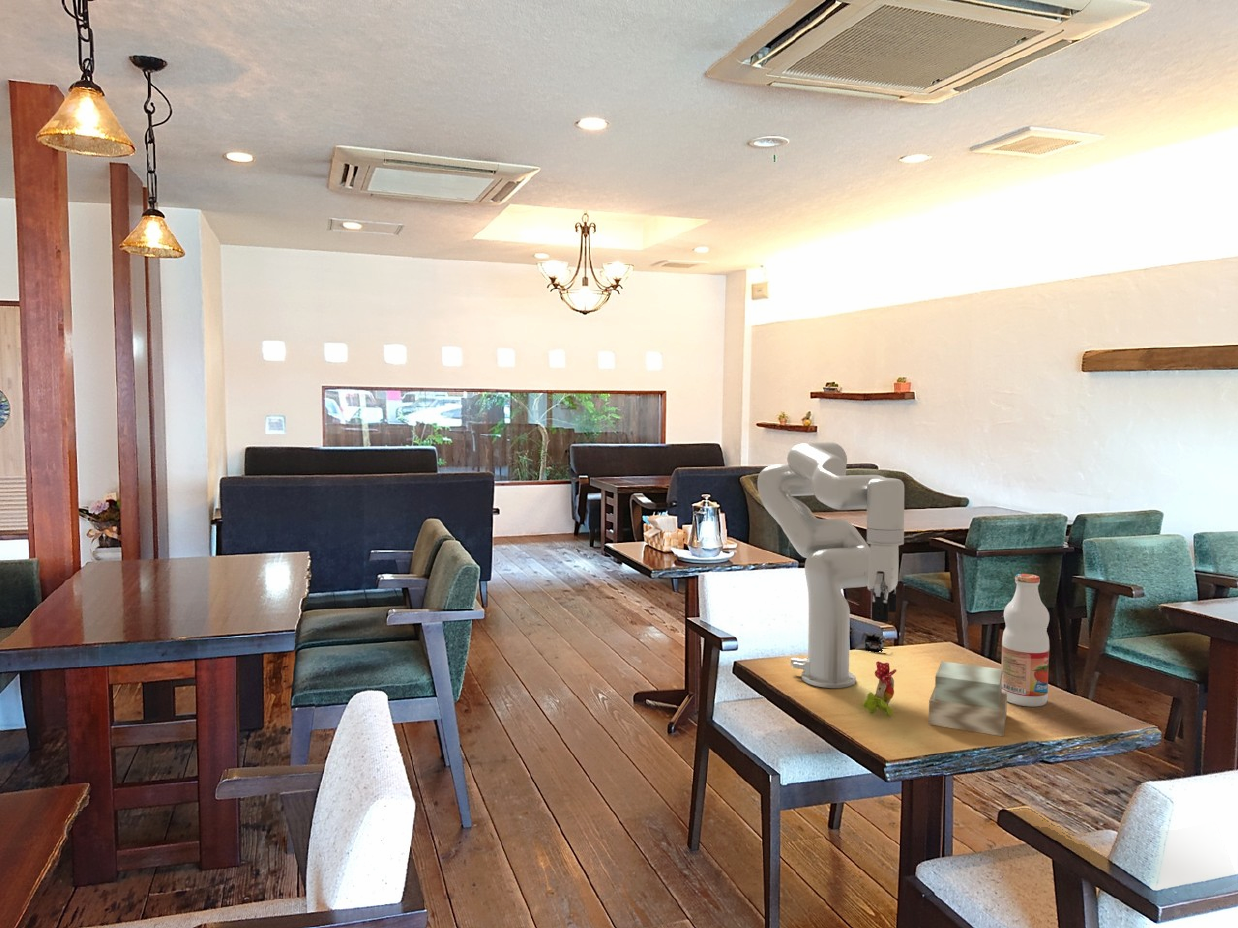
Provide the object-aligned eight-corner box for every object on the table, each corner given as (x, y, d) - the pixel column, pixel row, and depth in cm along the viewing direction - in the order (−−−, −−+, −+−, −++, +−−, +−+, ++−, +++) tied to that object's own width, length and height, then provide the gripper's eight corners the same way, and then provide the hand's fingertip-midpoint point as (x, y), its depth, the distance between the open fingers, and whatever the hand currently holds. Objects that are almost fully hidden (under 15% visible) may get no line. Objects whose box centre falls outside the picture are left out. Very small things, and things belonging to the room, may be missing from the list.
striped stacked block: (928, 724, 173) (929, 676, 172) (936, 704, 184) (937, 659, 184) (1003, 736, 166) (1004, 686, 166) (1006, 714, 178) (1007, 668, 177)
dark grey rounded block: (847, 650, 226) (847, 634, 226) (856, 644, 233) (856, 628, 232) (894, 658, 220) (894, 641, 219) (901, 651, 226) (901, 634, 225)
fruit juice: (1000, 690, 193) (1004, 570, 191) (1046, 696, 189) (1050, 573, 187) (1000, 703, 184) (1003, 578, 183) (1048, 710, 181) (1052, 581, 179)
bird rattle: (869, 714, 184) (858, 709, 177) (876, 663, 187) (865, 657, 180) (898, 720, 181) (888, 715, 174) (905, 668, 184) (895, 662, 177)
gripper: (874, 530, 187) (873, 606, 188) (858, 540, 172) (858, 623, 173) (909, 532, 184) (908, 609, 185) (896, 543, 168) (895, 627, 169)
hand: (884, 616), depth 179 cm, fingers open, 9 cm apart
